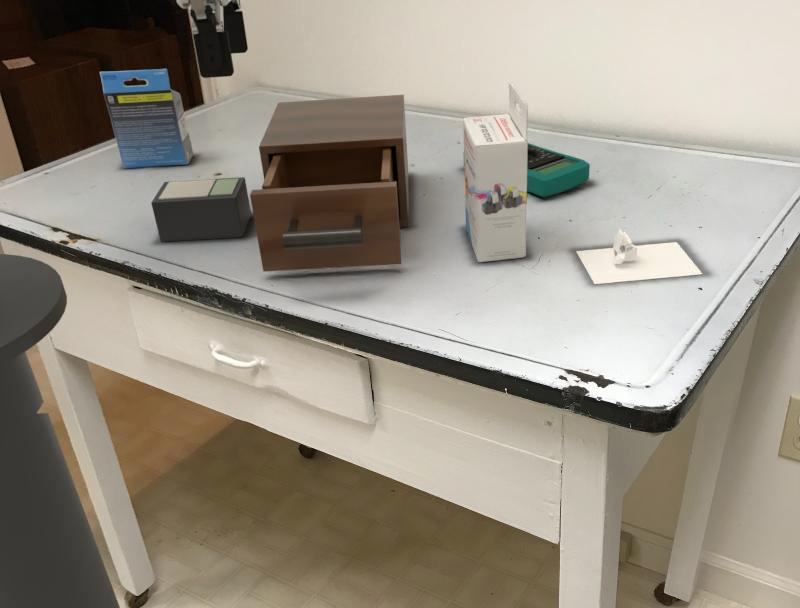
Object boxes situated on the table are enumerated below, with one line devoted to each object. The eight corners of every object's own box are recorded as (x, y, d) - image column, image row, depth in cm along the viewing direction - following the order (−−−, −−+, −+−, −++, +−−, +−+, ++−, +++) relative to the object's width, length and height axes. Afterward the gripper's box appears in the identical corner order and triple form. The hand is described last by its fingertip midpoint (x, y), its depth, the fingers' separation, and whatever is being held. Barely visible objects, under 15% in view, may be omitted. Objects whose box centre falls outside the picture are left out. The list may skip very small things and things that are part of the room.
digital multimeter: (504, 154, 108) (504, 131, 106) (591, 184, 98) (593, 158, 96) (459, 169, 104) (458, 145, 103) (545, 201, 94) (546, 176, 93)
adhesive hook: (607, 256, 82) (609, 226, 80) (634, 254, 82) (637, 223, 80) (616, 270, 80) (618, 239, 78) (643, 268, 80) (647, 237, 78)
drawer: (401, 287, 78) (395, 206, 73) (255, 295, 78) (241, 215, 74) (402, 205, 94) (398, 135, 89) (281, 212, 94) (270, 142, 90)
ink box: (463, 228, 90) (460, 84, 81) (510, 224, 90) (512, 79, 82) (476, 263, 83) (474, 109, 74) (527, 258, 83) (531, 104, 75)
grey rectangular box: (160, 242, 92) (150, 201, 89) (173, 219, 97) (164, 180, 94) (243, 237, 92) (235, 196, 89) (251, 215, 97) (244, 175, 94)
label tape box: (194, 155, 115) (175, 60, 108) (187, 166, 112) (167, 68, 105) (130, 159, 116) (107, 64, 109) (122, 169, 112) (97, 72, 105)
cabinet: (408, 227, 91) (403, 137, 86) (272, 234, 92) (258, 146, 86) (408, 175, 104) (403, 94, 98) (289, 182, 104) (278, 102, 99)
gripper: (171, -137, 84) (204, 47, 94) (127, -126, 70) (171, 89, 80) (247, -142, 84) (272, 42, 94) (218, -133, 70) (251, 84, 79)
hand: (225, 64), depth 87 cm, fingers open, 9 cm apart
